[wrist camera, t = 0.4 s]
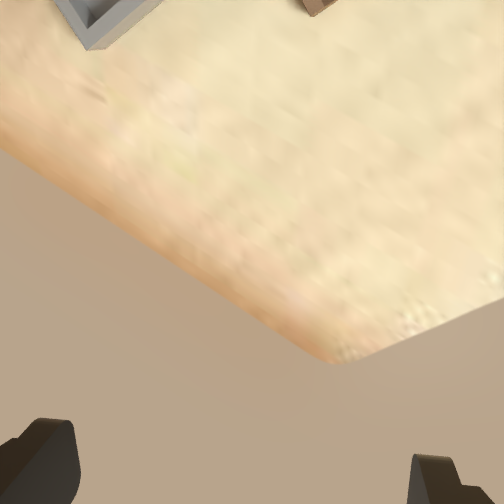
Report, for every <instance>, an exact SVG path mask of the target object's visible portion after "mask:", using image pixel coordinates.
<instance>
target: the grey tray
mask: <svg viewBox="0 0 504 504" xmlns="http://www.w3.org/2000/svg"><path fill="white" fill-rule="evenodd" d="M162 1H163V0H54V2H55V3H56V5H57V6H58V8H59V9H60V11H61V13H62V14H63V16H64V17H65V19H66V20H67V22H68V23H69V25H70V26H71V28H72V29H73V31H74V33H75V34H76V36H77V37H78V39H79V40H80V42H81V43H82V45H83V46H84V48H85V49H86V51H91V50H101V49H106V48H107V47H109V46H110V45H111V44H112V43H113V42H115V41H116V40H117V39H118V38H119V37H120V36H122V35H123V34H124V33H125V32H126V31H128V30H129V29H130V28H131V27H132V26H134V25H135V24H136V23H137V22H138V21H140V20H141V19H142V18H143V17H144V16H146V15H147V14H148V13H149V12H150V11H152V10H153V9H154V8H155V7H156V6H157V5H159V4H160V3H161V2H162Z"/></svg>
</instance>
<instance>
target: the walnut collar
mask: <svg viewBox="0 0 504 504" xmlns="http://www.w3.org/2000/svg"><path fill="white" fill-rule="evenodd" d="M302 1H303V3H304V5H305V7H306V9H307V11H308V13H309V15H310V17H314V16H316V15H317V14H318V13H320V12H321V11H323V10H324V9H326V8H327V7H329V6H330V5H332V4H333V3H335V2H336V1H338V0H302Z"/></svg>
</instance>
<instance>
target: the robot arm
mask: <svg viewBox="0 0 504 504" xmlns="http://www.w3.org/2000/svg"><path fill="white" fill-rule="evenodd" d="M80 470H81V469H80V463H79V457H78V451H77V445H76V439H75V433H74V427H73V424H72V423H71V422H70V421H69V420H59V419H49V418H38V419H36V420H34V421H33V422H32V423H31V424H30V425H29V427H28V428H27V429H26V430H25V431H24V432H23V433H22V434H21V435H20V436H19V437H18V438H12V439H10V440H9V441H7V442H6V443H4V444H2V445H1V446H0V504H71V502H72V501H73V499H74V497H75V495H76V493H77V490H78V487H79V483H80V477H81V471H80ZM407 504H495V503H494V502H493V501H492V500H491V499H490V498H489V497H488V496H487V495H486V493H485V492H484V491H483V490H482V489H481V488H480V487H477V486H467V485H462V484H461V482H460V479H459V476H458V473H457V471H456V468H455V466H454V463H453V461H452V459H451V458H450V457H443V456H433V455H422V454H414V455H413V458H412V464H411V472H410V481H409V489H408V498H407Z"/></svg>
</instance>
